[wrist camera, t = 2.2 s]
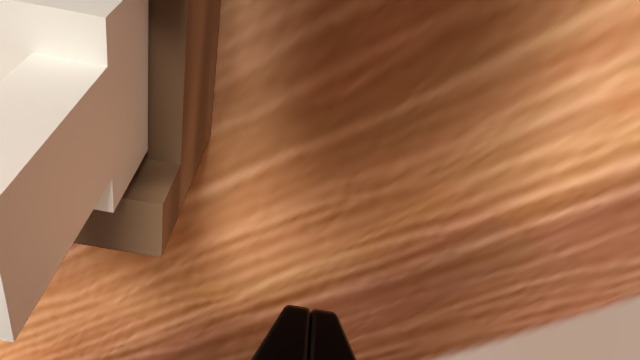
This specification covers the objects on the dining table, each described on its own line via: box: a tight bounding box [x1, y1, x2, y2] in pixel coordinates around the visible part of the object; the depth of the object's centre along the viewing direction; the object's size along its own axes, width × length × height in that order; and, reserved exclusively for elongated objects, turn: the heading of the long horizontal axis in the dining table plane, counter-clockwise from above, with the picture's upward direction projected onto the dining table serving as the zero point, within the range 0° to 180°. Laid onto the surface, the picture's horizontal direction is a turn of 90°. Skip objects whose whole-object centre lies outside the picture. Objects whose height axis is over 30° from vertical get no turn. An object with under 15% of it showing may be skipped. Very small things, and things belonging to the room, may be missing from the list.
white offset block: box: [0, 0, 148, 342], centre depth 13 cm, size 3×5×8 cm, turn 170°
